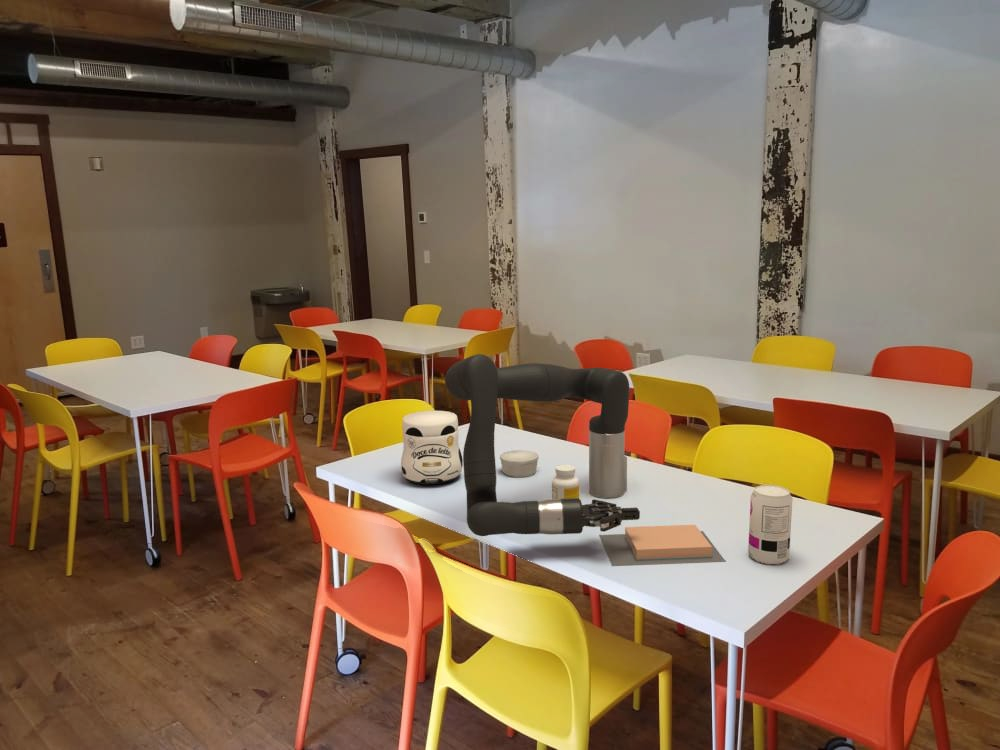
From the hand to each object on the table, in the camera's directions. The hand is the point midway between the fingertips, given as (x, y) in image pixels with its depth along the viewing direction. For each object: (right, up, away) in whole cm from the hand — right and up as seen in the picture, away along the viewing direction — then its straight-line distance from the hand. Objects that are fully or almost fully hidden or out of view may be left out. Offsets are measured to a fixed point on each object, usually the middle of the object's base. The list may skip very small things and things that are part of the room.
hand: (638, 513), depth 166 cm
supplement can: (+27, -9, -3) cm, 29 cm away
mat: (+5, -8, +2) cm, 10 cm away
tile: (-1, -7, +1) cm, 7 cm away
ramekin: (-24, +2, +55) cm, 60 cm away
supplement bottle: (-14, -5, +20) cm, 25 cm away
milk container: (-49, 0, +51) cm, 71 cm away
